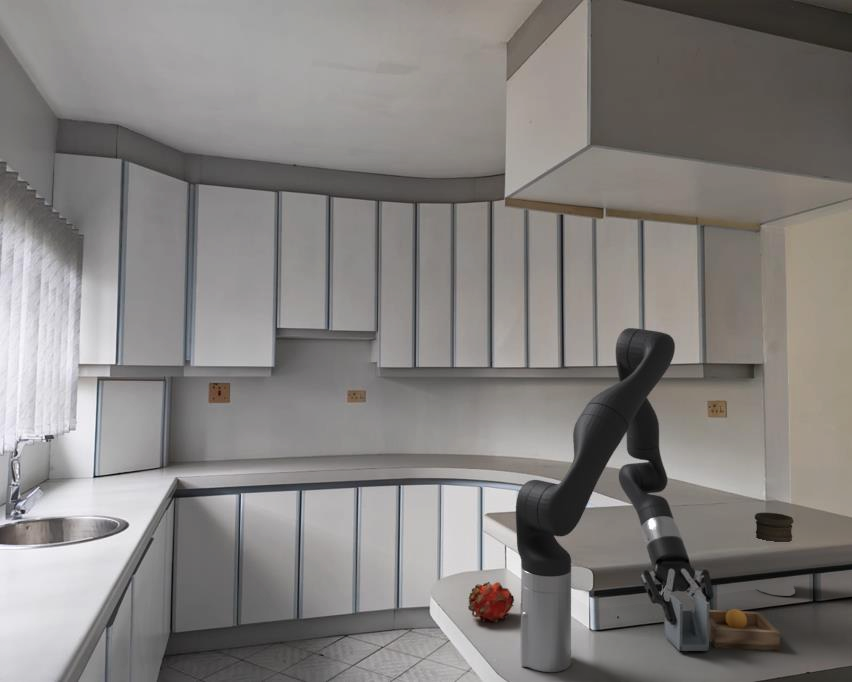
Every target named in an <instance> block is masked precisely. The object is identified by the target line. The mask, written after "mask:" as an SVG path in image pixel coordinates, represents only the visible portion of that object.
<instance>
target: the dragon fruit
mask: <svg viewBox="0 0 852 682" xmlns="http://www.w3.org/2000/svg"><path fill="white" fill-rule="evenodd" d="M514 601H515V598H514V595H512V592H511V591H510V589H509V588H506V587H503V586H502V584H501V583H500V582H498V581H497V582H495V583H494V584H491V583H490V581H488V582H484V583H483V585H482V584H476V585H475V587H473V588H472V589H471V592H470V593H469V595H468V606H467V607H468V610H469V611H470V612H471V615H472V617H474V618H479V619H480V621H481V622H484V621H486V620H489V621H490V622H495V623H498V621H499V619H501V620H505V619H506V618H507V617H508V616H509V615H508V614H509V612H510V610H511V609H512V608H513V607H514Z"/></svg>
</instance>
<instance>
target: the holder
mask: <svg viewBox="0 0 852 682" xmlns="http://www.w3.org/2000/svg"><path fill="white" fill-rule="evenodd" d="M670 602H672V605H673V608H674V612H675V615H676V618H677V622H676V623H675V625H671V624H670V622H668V621H667V620H666V617H665V614H663V635H664V636H665V638H667V640H668V641H670V643H671V644H672V645H673V646H674V647H675V648H676V649H677V650H678V651H679V652H681V651H682V652H689V651H690V652H691V651H692V652H694V651H695V652H697V651H698V652H699V651H701V652H702V651H703V652H705V651H707V652H708V651H710V649H709V648H710V639H709V610H710V602H709V603H708V602H707V601H706V600H704V599H703V598H702V597H701V596H699V595H698V594H695V602H694V610H693V609H684V608H683V605H684V604H683V603H682V602H681V601H680V600H679V599H678V598H677V597H675V596H674V595H673V594H672V593H671V595H670Z"/></svg>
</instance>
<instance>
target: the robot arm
mask: <svg viewBox="0 0 852 682" xmlns="http://www.w3.org/2000/svg"><path fill="white" fill-rule="evenodd" d="M675 343H676V342H675V340H674V338H673V337H672V336H671V335H670V334H668V333H666V332H661V331H657V330H651V329H649V330H648V329H642V328H637V327H635V328H634V327H628V328H625V329H623V330H622V331H621V333H619V335H618V337H617V340H616V343H615V362H616V368H617V374H618V375H617V376H618V380H619V382H618V383H616V384H613V385H612V386H610V387H608V388H606V389H605V390H603V391H601V392H599V393H598V394H596V395H595V396H594V397H592V398H591V399H590V401H589V402H588V403H587V404H586V405H585V408H584V409H583V410H582V412H581V414H580V415H579V417H578V418H577V420H576V422H575V424H574V427H573V433H572V434H573V435H572V438H573V439H572V440H573V460H572V463H571V465H570V467H569V469H568V471H567V472H566V474H565V476H564V477H563V479H562V480H561V481H560V482H559V483H553V482H550V481H544V480H540V479H532V480H528V481H526V482H525V483H524V484H523V485H522V486H521V488H520V490H519V491H518V494H517V497H516V501H515V502H516V503H515V529H516V547H517V552H518V555H519V557H520V561H521V563H520V565H521V568H520V571H521V572H520V573H521V577H520V578H521V579H520V580H521V581H520V590H521V591H520V595H521V596H520V633H519V634H520V636H519V637H520V644H519V645H520V646H519V647H520V648H519V649H520V665H521V667H523V668H524V667H527V668H529V669H532V670H534V671H538V672H544V673H556V672H562V671H564V670H567V669H569V668H570V666H571V663H572V558H571V555H570V553H569V552H568V551H567V550H566V549H565V548H564V547H563V546H562V545H561V544H560V543H559V542H558V540H557V539H556V537H565V536H568V535H569V534H570V533H572V532H573V530H574V529H575V528H576V527H577V526H578V524H579V522H580V520H581V519H582V517H583V515H584V512H585V510H586V508H587V506H588V503H589V501H590V499H591V497H592V494H593V492H594V490H595V487H597V486H596V485H598V481H599V480H600V478H601V475H602V474H603V472H604V470H605V469H606V467H607V464H608V463H609V462H610V459H611V457H612V455H613V454H614V452H615V451H616V449H618V447H619V445H620V444H621V442H622V440H623V438H624V436H625V434H626V451H627V453H628V455H629V456H630V457H631V458H634V459H637V460H639V461H640V460H641V461H644V462H634V463H627V464H626V463H625V464H623V465H622V466H621V467H620V470H618V471H619V472H618V481H619V484H620V488H621V489H622V491H623V492H624V494H625V495H626V497H627V498H628V500H629V501H630V503H631V504H632V505H633V507H634V509H635V511H636V513H637V515H638V520H639V523H640V526H641V530H642V536H643V540H644V544H645V547H646V550H647V553H648V556H649V559H650V562H651V563H650V564H651V567H652V569H653V570H651V571H649V570H644V571H643V573H642V574H641V576H640V581H641V583H642V584H643V586H644V587H643V588H644V589H645V591H646V594H647V595H648V598H649V600H650V602H651V603H652V604H654V605H655V604H658V605H660V606H661V607H662V610H663V613H664V614H665V617H666V620H667V621H668V622H670V624H671V625H675V623H676V622H677V618H676V615H675V612H674V608H673V605H672V602H670V595H671V594H672V592H677V591H678V592H681V593H682V592H683V593H685V594H686V596H687V597H689V598H691V599H692V601H693V602H694V603H695V594H698V595H699V596H701V597H702V598H703V599H704V600H706V601H707V602H708V603H709V604H710V602H711V600H712V599H713V597H714V591H713V586H712V582H711V576H710V572H709V571H708V570H707V569H703V570H701V571H700V570H696V569H695V568H694V567H692V565H691V562H690V558H689V555H688V552H687V549H686V546H685V544H684V540H683V538H682V535H681V532H680V530H679V528H678V525H677V523H676V521H675V519H674V516H673V513H672V510H671V508H670V505H669V502H668V500H667V499H666V498H665V497H664V496H661V495H657V494H656V493H661V492H663V491H664V490H665V489H666V487H667V486H668V482H669V481H668V475H667V472H666V469H665V466H664V464H663V463H664V462H663V460H662V456H661V451H660V423H659V420H658V419H659V418H658V415H657V414H656V411H655V409H654V407H653V406H652V404H651V401H650V400H649V398H648V397H649V395H650V394H651V392H652V391H653V390H654V388H655V386H656V385H657V384H658V383H659V382H660V380H661V379H662V378H663V376H664V375H665V373H666V372H667V370H669V367H670V365H671V364H672V361H673V359H674V355H675V349H676V344H675ZM655 494H656V495H655ZM694 578H696V580H697V582H698V583H699V584H700V587H699V585H698V584H697V582H695V580H694ZM655 580H657V581H658V583H660V584H661V592H659V589H658V587H657V586H656V583H655ZM700 589H701V590H700ZM664 614H663V615H664ZM709 619H710V613H709Z"/></svg>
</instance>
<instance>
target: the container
mask: <svg viewBox="0 0 852 682" xmlns="http://www.w3.org/2000/svg"><path fill="white" fill-rule="evenodd" d="M754 519H755V524H756V529H755V530H756V531H755V537H756V538H758V539H762V540H766V541H774V542H790V541H792V542H793V534H792V529H793V523H794V518H793V517H792V516H790V515H787V514H783V513H777V512H757V513H755V514H754Z"/></svg>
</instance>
